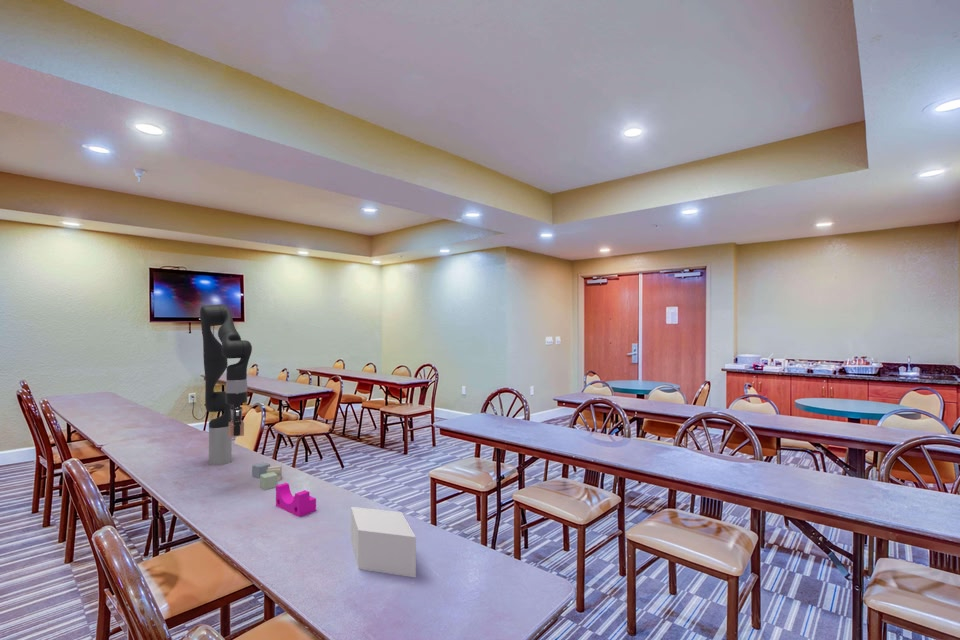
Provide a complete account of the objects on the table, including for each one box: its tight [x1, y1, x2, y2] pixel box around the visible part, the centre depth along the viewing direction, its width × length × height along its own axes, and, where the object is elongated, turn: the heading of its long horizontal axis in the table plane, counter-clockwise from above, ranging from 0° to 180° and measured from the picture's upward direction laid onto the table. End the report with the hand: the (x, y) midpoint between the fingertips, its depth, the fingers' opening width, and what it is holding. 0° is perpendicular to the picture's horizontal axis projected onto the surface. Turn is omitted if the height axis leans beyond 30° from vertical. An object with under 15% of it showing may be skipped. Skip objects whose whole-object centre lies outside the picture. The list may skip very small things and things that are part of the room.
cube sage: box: [259, 472, 279, 491], centre depth 173 cm, size 5×5×5 cm
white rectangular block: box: [350, 506, 417, 578], centre depth 121 cm, size 14×29×10 cm, turn 50°
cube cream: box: [267, 465, 283, 482], centre depth 182 cm, size 5×5×5 cm
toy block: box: [275, 482, 317, 518], centre depth 153 cm, size 15×6×8 cm, turn 53°
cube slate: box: [251, 461, 271, 479], centre depth 186 cm, size 5×5×5 cm
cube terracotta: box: [229, 420, 245, 438], centre depth 173 cm, size 5×5×5 cm
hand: (236, 433), depth 173 cm, fingers closed on cube terracotta, 5 cm apart
